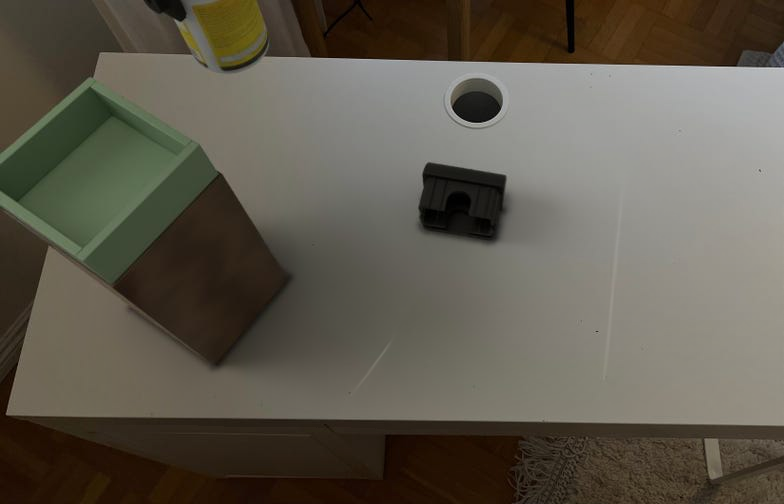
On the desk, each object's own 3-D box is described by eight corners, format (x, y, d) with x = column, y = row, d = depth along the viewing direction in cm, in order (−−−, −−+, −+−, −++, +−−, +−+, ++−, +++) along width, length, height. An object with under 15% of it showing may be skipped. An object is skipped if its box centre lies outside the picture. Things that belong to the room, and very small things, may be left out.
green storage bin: (112, 284, 53) (82, 261, 49) (5, 209, 55) (-32, 181, 51) (219, 174, 57) (200, 144, 53) (115, 109, 60) (90, 76, 56)
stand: (214, 366, 74) (112, 287, 53) (131, 307, 77) (1, 210, 55) (288, 278, 79) (222, 173, 58) (207, 226, 82) (115, 106, 60)
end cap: (504, 193, 85) (508, 165, 79) (495, 241, 82) (498, 216, 76) (429, 181, 86) (427, 152, 79) (418, 228, 83) (414, 202, 76)
